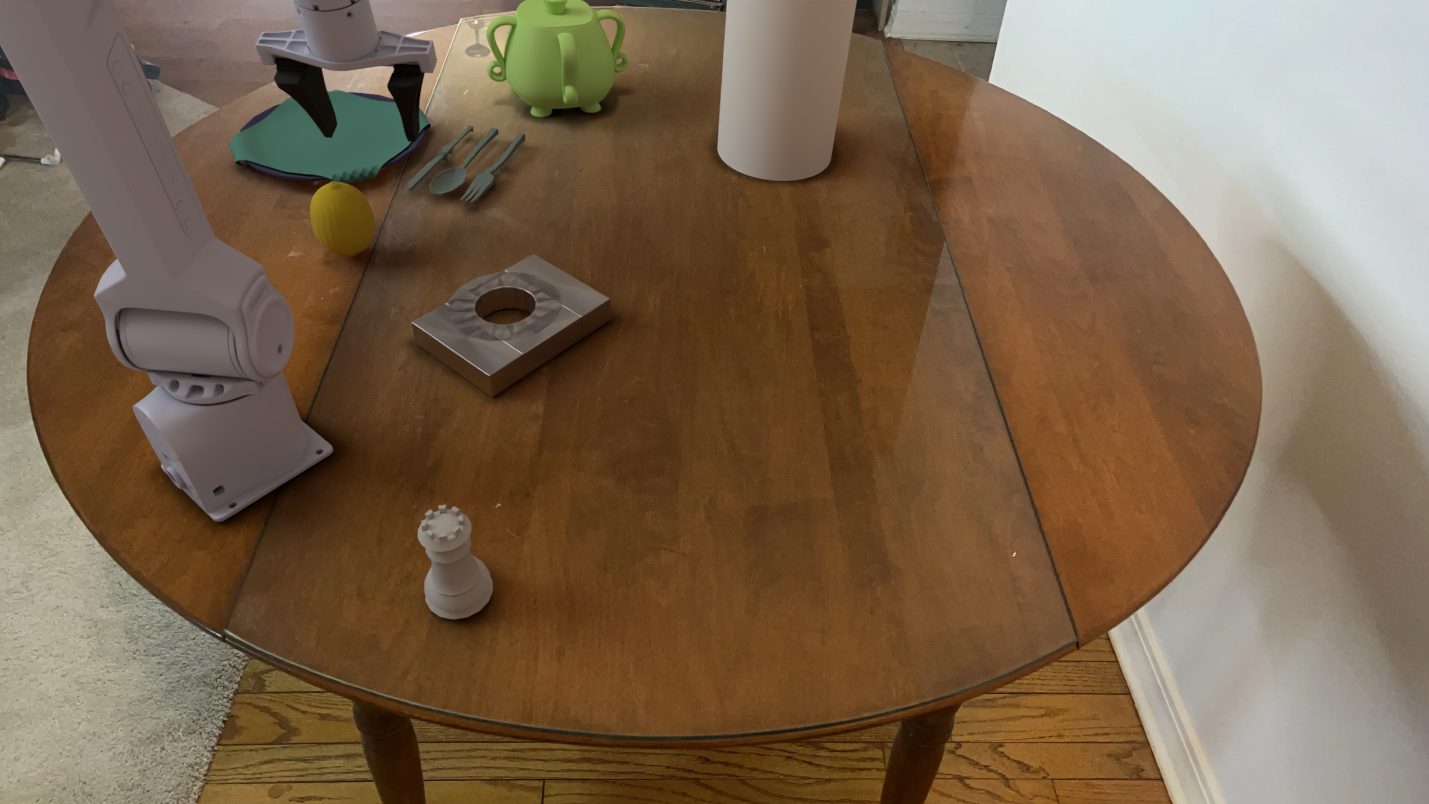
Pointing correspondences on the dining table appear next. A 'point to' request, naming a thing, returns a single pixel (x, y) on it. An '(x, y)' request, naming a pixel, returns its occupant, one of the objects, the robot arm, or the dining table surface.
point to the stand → (511, 348)
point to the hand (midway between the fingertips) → (372, 133)
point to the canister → (782, 85)
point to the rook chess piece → (453, 565)
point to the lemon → (342, 218)
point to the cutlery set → (352, 145)
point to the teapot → (558, 55)
